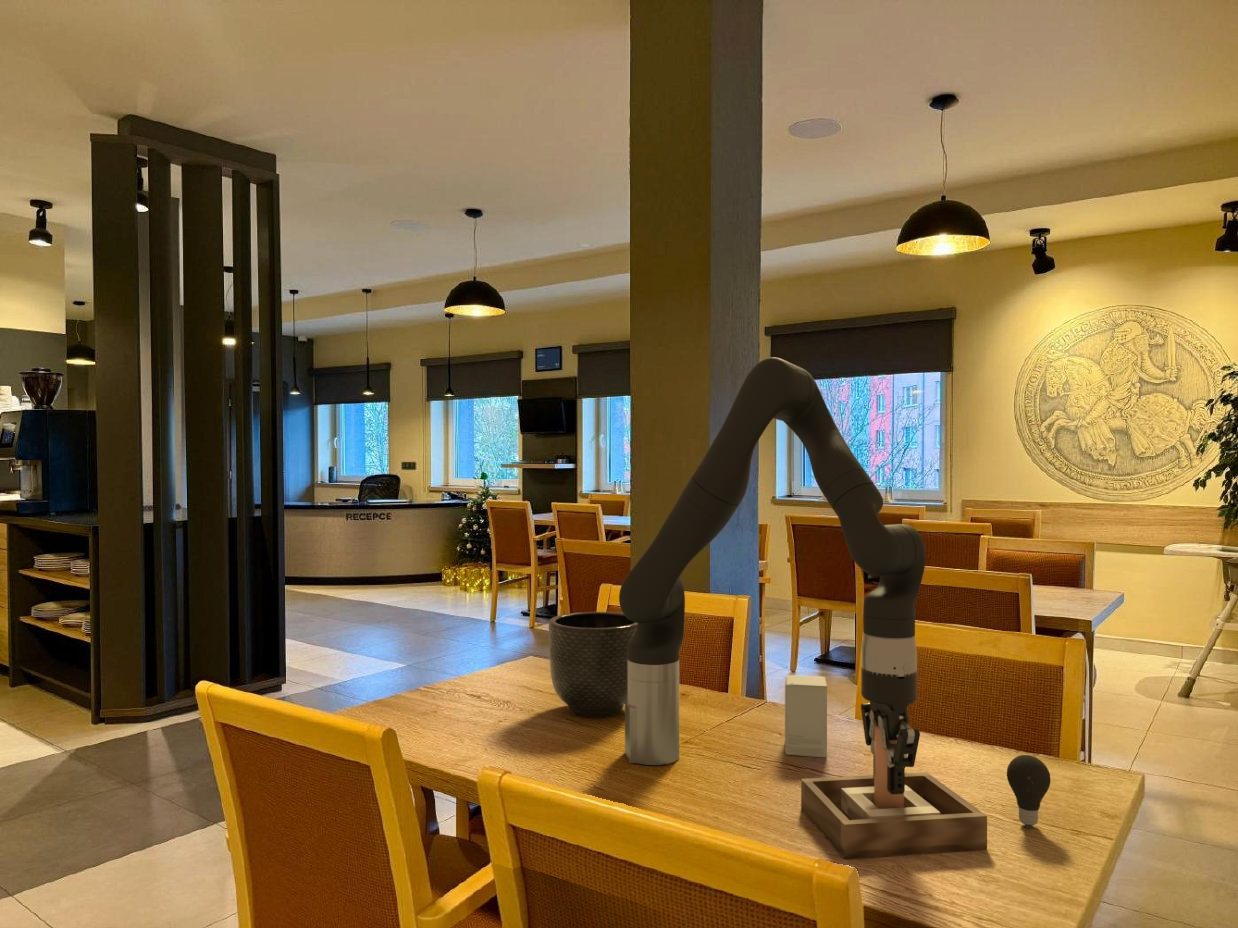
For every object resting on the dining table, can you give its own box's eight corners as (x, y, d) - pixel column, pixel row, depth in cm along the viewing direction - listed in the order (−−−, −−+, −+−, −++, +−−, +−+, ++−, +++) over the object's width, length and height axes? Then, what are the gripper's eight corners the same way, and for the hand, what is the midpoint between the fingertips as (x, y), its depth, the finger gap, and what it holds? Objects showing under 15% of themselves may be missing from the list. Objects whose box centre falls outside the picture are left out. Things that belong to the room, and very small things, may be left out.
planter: (660, 706, 178) (659, 616, 178) (609, 731, 161) (609, 632, 161) (584, 692, 188) (584, 608, 188) (529, 714, 172) (529, 622, 172)
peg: (881, 819, 116) (882, 733, 116) (869, 807, 120) (869, 724, 120) (909, 817, 116) (909, 731, 116) (895, 806, 120) (896, 723, 120)
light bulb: (998, 818, 121) (998, 749, 121) (1035, 816, 122) (1035, 748, 122) (1020, 835, 116) (1020, 763, 116) (1059, 833, 116) (1059, 762, 116)
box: (844, 858, 109) (844, 824, 109) (801, 808, 125) (801, 778, 125) (987, 849, 111) (987, 815, 111) (927, 801, 127) (927, 772, 127)
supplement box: (827, 758, 146) (827, 686, 146) (784, 755, 148) (784, 683, 148) (825, 744, 154) (825, 675, 154) (784, 741, 155) (784, 673, 155)
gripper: (843, 655, 125) (843, 770, 125) (886, 679, 111) (886, 808, 111) (890, 653, 126) (890, 767, 126) (939, 677, 112) (939, 805, 112)
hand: (888, 786), depth 118 cm, fingers closed on peg, 4 cm apart
